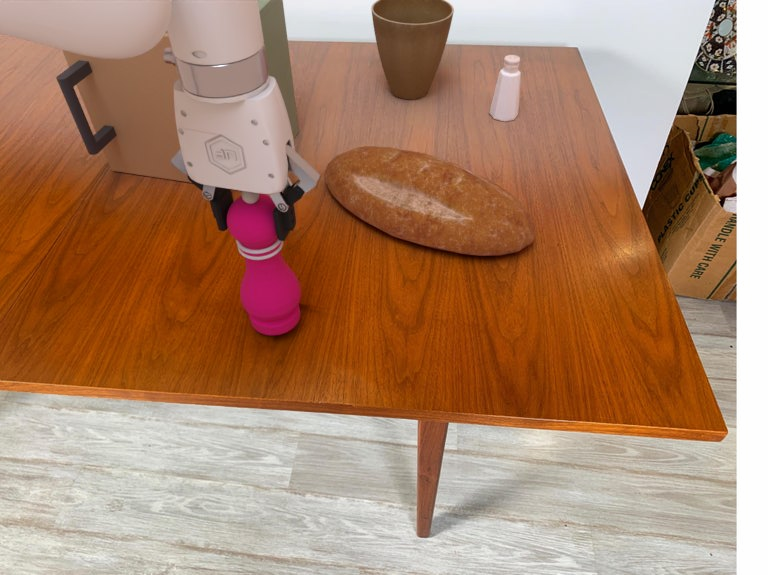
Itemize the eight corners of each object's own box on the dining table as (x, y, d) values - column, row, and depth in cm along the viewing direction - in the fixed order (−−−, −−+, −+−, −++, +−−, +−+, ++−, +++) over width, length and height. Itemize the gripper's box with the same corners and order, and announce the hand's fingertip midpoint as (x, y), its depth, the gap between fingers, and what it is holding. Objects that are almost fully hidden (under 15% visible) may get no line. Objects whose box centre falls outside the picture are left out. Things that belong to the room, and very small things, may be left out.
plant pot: (441, 113, 110) (447, 27, 98) (364, 104, 112) (362, 20, 101) (452, 77, 120) (459, -5, 109) (382, 70, 122) (381, -11, 111)
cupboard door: (243, 215, 89) (208, 62, 71) (91, 191, 93) (23, 41, 76) (260, 189, 93) (231, 39, 76) (114, 167, 98) (55, 21, 80)
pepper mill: (300, 339, 71) (279, 210, 57) (242, 339, 71) (205, 209, 57) (307, 296, 76) (288, 167, 62) (252, 296, 76) (221, 167, 62)
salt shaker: (517, 108, 111) (527, 51, 103) (518, 122, 107) (529, 65, 99) (488, 106, 112) (496, 50, 104) (489, 121, 108) (497, 63, 100)
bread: (503, 289, 78) (513, 239, 71) (296, 202, 91) (289, 154, 85) (552, 218, 88) (564, 169, 82) (359, 150, 101) (357, 103, 95)
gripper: (109, 76, 49) (167, 237, 62) (303, 99, 46) (321, 264, 59) (154, 39, 54) (199, 196, 67) (332, 58, 51) (343, 218, 64)
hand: (256, 226), depth 63 cm, fingers closed on pepper mill, 6 cm apart
